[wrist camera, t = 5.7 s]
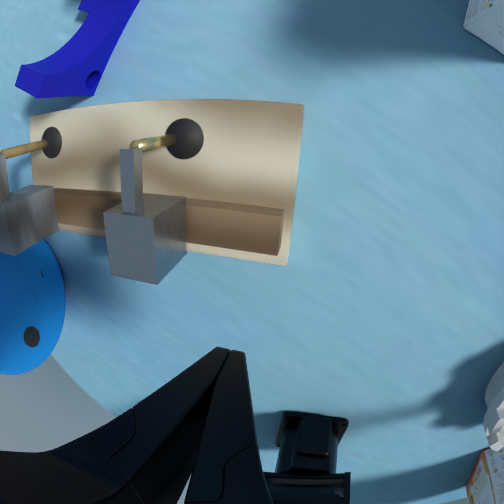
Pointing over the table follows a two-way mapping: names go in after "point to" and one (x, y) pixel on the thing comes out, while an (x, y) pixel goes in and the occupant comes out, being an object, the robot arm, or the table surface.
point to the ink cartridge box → (486, 21)
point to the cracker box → (487, 479)
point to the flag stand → (495, 410)
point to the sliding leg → (144, 221)
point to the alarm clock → (29, 308)
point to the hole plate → (163, 172)
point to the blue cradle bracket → (79, 53)
